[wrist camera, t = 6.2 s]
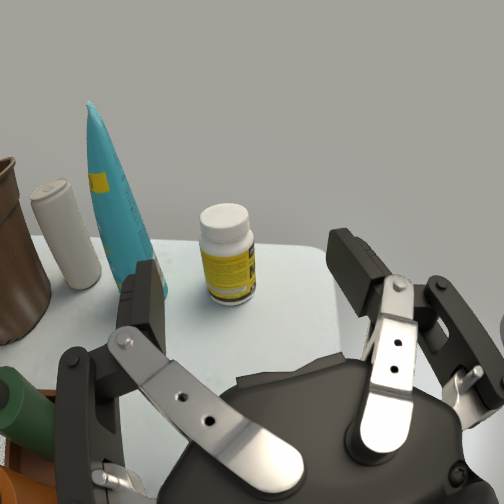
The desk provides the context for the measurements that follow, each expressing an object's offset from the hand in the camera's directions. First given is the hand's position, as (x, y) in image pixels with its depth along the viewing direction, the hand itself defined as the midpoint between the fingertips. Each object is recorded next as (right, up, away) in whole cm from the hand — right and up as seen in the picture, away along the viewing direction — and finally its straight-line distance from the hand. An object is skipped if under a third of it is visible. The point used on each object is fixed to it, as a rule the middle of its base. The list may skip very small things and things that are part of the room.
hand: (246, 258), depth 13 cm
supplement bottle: (-2, -3, +16) cm, 16 cm away
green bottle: (-15, -14, +2) cm, 21 cm away
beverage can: (-19, -3, +17) cm, 26 cm away
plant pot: (-29, -7, +13) cm, 32 cm away
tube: (-11, -4, +15) cm, 19 cm away
